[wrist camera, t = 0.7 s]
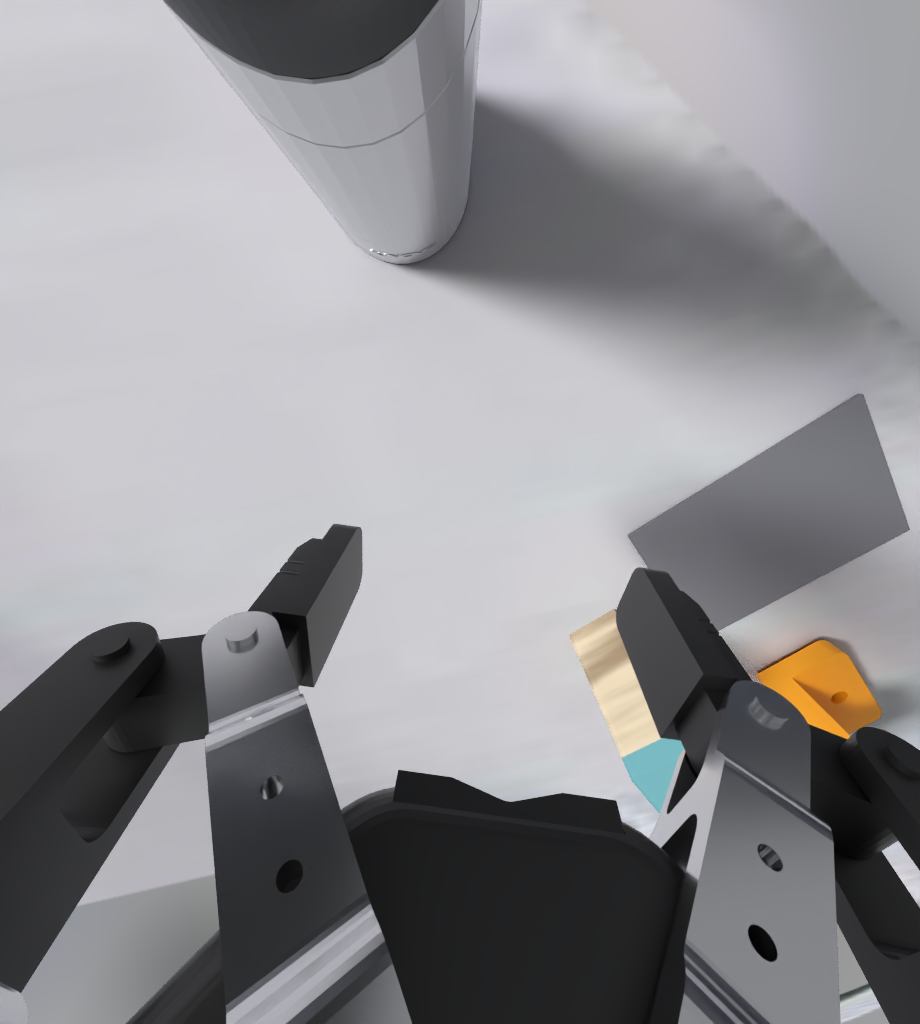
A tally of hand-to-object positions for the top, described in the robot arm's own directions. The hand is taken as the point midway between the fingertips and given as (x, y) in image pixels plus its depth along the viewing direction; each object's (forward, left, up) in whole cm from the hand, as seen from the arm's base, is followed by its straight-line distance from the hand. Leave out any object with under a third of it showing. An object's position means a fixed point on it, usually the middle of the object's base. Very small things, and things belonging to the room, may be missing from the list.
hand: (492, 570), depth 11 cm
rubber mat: (+10, +25, -20) cm, 34 cm away
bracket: (+28, +32, -21) cm, 48 cm away
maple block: (+20, +11, -20) cm, 31 cm away
